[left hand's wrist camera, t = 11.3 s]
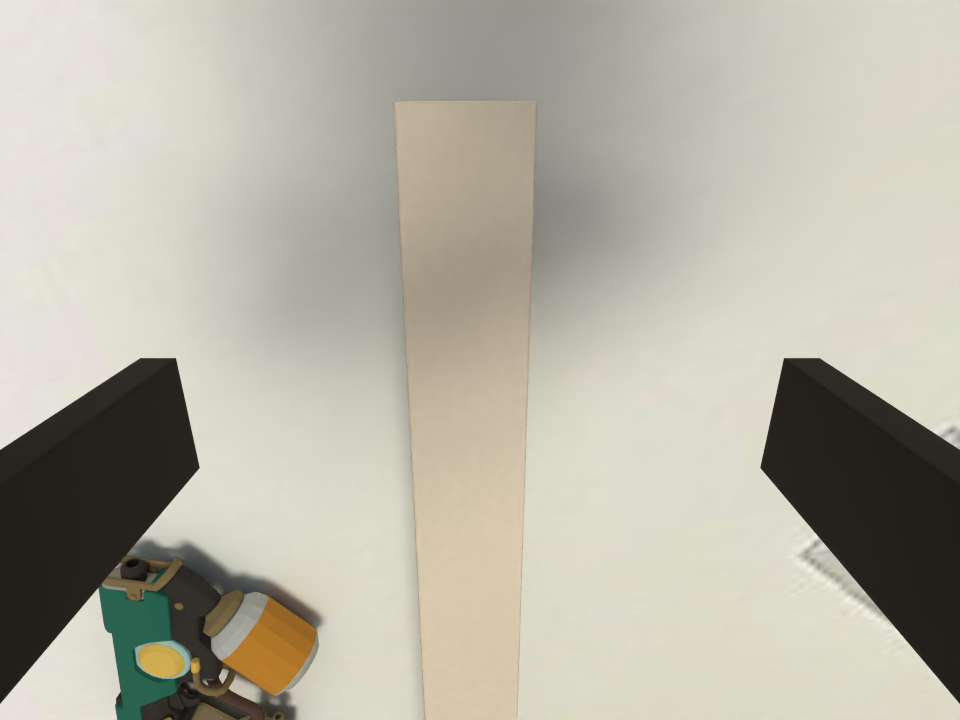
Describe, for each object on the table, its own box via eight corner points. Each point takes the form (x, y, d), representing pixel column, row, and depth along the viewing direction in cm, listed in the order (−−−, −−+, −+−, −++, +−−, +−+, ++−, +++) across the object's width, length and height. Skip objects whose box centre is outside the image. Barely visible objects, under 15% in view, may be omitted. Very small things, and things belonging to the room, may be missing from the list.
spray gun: (284, 749, 42) (84, 685, 40) (360, 601, 36) (127, 516, 34) (262, 814, 38) (39, 746, 36) (343, 660, 32) (78, 568, 30)
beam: (413, 113, 26) (393, 100, 19) (517, 113, 26) (537, 100, 19) (444, 886, 48) (440, 1021, 40) (501, 884, 48) (507, 1019, 40)
